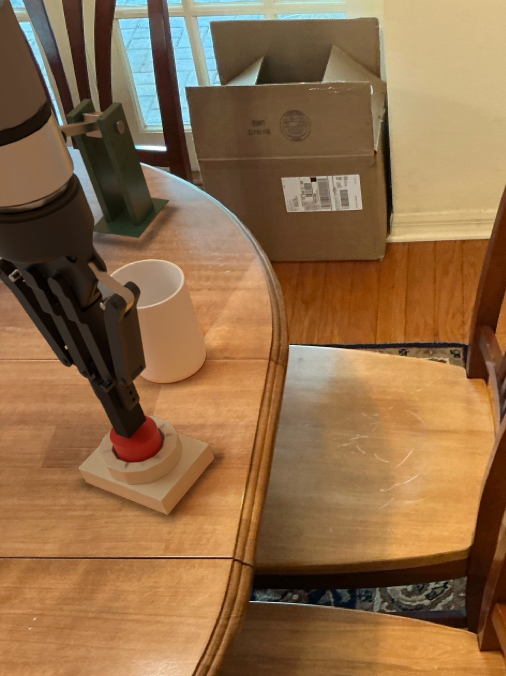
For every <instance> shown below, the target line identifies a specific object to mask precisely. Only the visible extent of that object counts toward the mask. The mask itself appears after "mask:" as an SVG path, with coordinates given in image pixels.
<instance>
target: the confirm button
mask: <svg viewBox="0 0 506 676" xmlns="http://www.w3.org/2000/svg"><path fill="white" fill-rule="evenodd" d="M148 416H149V415H145V417H146V419H147V420H146V421H145V422H144V423H143V424H142V426H141V427H140V428H139V429H138V430H137V431H136V432H135V433H134V434H133V435H132V436H131V437H130V438H129V439H128V438H125V437H122V436H120V435H117V434H116V433H115V431H114V428H113V426H111V428H110V430H111V431H110V430H109V431H110V440H111V442H112V444H113V446H114V448H115V450H116V452H117V454H118V456H119V457H120V458H121V459H122V460H124V461H127V462H131V463H134V462H143V461H145V460H147V459H150V458H152V457H154V456H155V455H156V454H157V453H158V452H159V451H160V449H161V447H162V442H163V441H162V437H161V435H160V432H159V430H158V427H157V425H156V423H155V421H154V420H153V419H152V418H150V417H148Z"/></svg>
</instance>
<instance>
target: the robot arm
mask: <svg viewBox="0 0 506 676" xmlns="http://www.w3.org/2000/svg"><path fill="white" fill-rule="evenodd" d="M59 126H60V125H59V123H58V120H57V118H56V116H55V113H54V111H53V109H52V106H51V104H50V102H49V100H48V97H47V95H46V92H45V89H44V87H43V84H42V82H41V79H40V77H39V73H38V70H37V68H36V66H35V63H34V60H33V57H32V54H31V51H30V50H29V47H28V44H27V41H26V39H25V36H24V34H23V32H22V29H21V26H20V22H19V21H18V18H17V16H16V13H15V10H14V7H13V5H12V2H11V0H0V281H1V282H2V283H3V284H4V285H5V286H6V287H7V288H8V289H9V290H10V291H11V293H12V294H13V295H14V297H15V298H16V300H17V301H18V303H19V304H20V306H21V307H22V308H23V310H24V311H25V313H26V314H27V315H28V317H29V319H30V320H31V322H32V324H34V326H35V327H36V329H37V330H38V331H39V333H40V334H41V336H42V337H43V339H44V340H45V342H46V343H47V344H48V346H49V347H50V349H51V351H53V354H54V355H55V356H56V357H57V359H58V360H59V362H60V363H61V364H62V365H63V366H65V367H67V368H71V367H72V366H74V367H75V368H76V369H77V371H78V373H79V375H81V376H82V377H83V378H85V379H87V380H88V383H89V385H90V387H91V388H92V389H91V390H92V391H93V393H94V395H95V397H96V399H98V400H99V402H100V404H101V406H102V408H103V410H104V412H105V414H106V416H107V418H108V421H109V422H110V424H111V427H113V428H114V431H115V433H116V434H117V435H120V436H122V437H125V438H128V439H129V438H130V437H131V436H132V435H133V434H134V433H135V432H136V431H137V430H138V429H139V428H140V427H141V426H142V424H143V423H144V422H145V421H146V420H147V419H146V417H145V416H146V415H145V411H144V410H143V408H142V405H141V403H140V400H141V398H140V395H139V393H138V390H137V388H136V385H135V383H134V381H135V380H136V379H137V378H138V377H139V376H141V375H140V374H141V372H142V371H143V370H144V369H145V368H146V363H145V357H144V350H143V344H142V338H141V331H140V325H139V319H138V312H137V303H138V300H139V297H140V293H141V291H140V289H139V287H138V286H137V285H136V284H135V283H133V282H131V281H128V282H127V283H126V284H125V285H124V286H122V285H121V284H120V283H119V282H117V281H116V280H115V279H114V278H112V277H111V276H110V275H111V274H109V273H108V267H107V264H106V262H105V261H104V259H103V257H101V255H100V254H99V252H98V250H97V249H96V248H95V246H94V226H95V225H96V223H95V216H94V214H93V211H92V208H91V206H90V204H89V200H88V198H87V196H86V193H85V190H84V188H83V186H82V182H81V181H80V178H79V176H78V175H77V174H76V173H74V170H75V165H74V161H73V157H72V155H71V153H70V150H69V148H68V145H67V143H65V140H64V138H63V135H62V133H61V130H60V128H59Z"/></svg>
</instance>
